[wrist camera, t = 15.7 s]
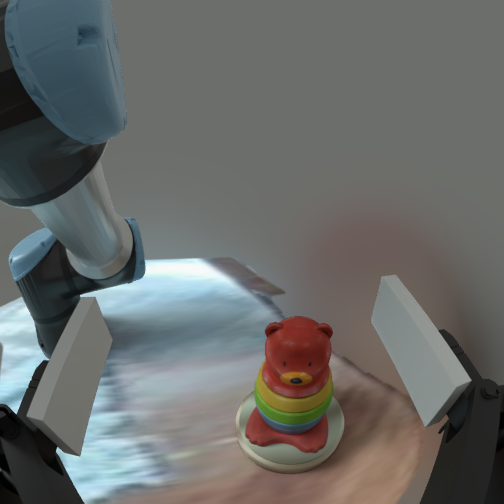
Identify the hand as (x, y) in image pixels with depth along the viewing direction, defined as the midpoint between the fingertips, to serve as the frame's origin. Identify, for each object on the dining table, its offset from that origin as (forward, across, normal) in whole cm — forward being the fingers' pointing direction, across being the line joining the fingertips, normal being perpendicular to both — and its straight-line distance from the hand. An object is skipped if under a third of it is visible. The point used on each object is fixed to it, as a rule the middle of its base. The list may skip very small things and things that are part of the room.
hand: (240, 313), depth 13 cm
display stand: (+10, +6, -32) cm, 34 cm away
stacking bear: (+10, +6, -29) cm, 31 cm away
